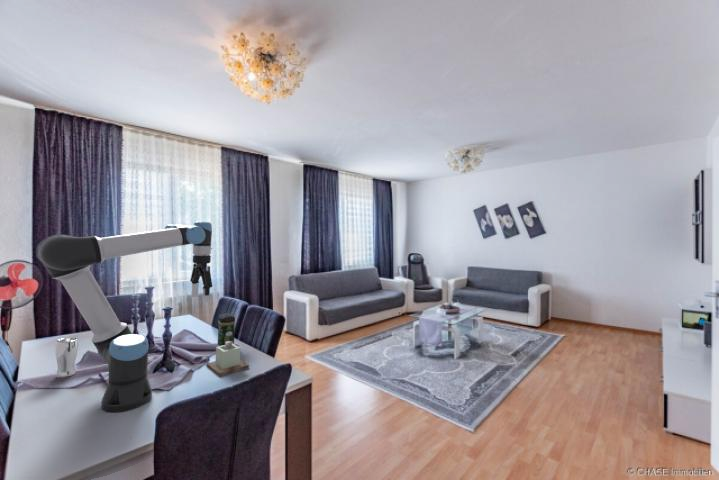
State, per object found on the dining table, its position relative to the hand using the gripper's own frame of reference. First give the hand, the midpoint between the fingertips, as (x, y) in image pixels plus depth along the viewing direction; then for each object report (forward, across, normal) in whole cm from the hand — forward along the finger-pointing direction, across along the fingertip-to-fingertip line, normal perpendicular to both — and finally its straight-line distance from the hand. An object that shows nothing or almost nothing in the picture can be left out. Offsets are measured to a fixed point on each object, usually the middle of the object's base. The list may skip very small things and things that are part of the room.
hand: (200, 299), depth 149 cm
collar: (+30, -10, -10) cm, 33 cm away
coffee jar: (+32, +15, -20) cm, 41 cm away
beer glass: (+32, +26, +44) cm, 60 cm away
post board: (+32, -10, -10) cm, 35 cm away
